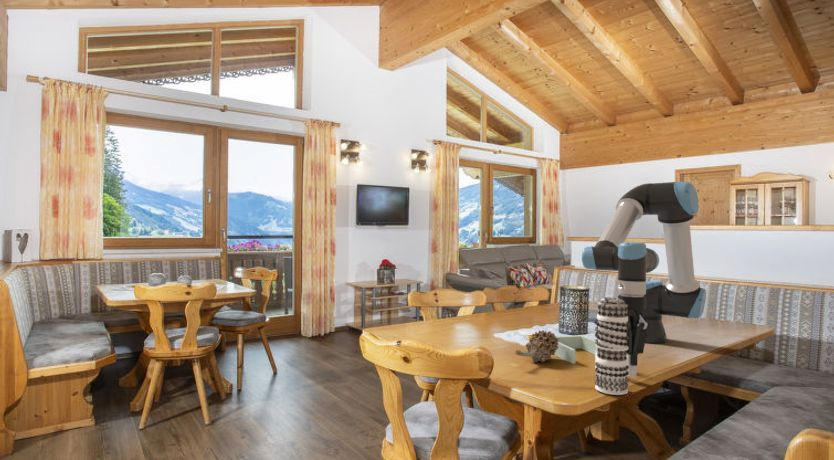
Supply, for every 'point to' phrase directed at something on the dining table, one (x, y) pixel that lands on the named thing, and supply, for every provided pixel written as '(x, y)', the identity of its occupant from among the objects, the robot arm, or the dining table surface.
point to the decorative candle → (612, 346)
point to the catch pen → (573, 346)
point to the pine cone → (540, 346)
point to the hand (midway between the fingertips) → (630, 375)
